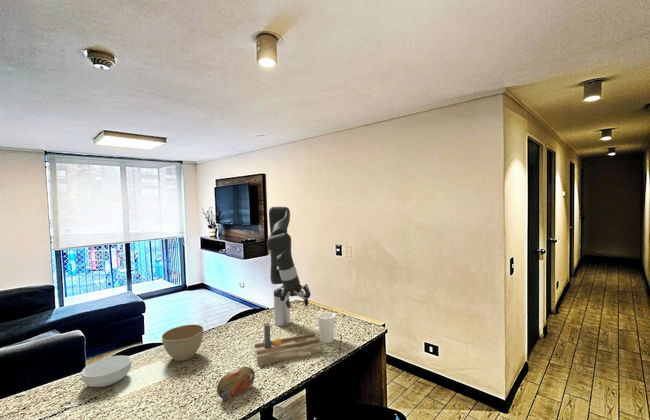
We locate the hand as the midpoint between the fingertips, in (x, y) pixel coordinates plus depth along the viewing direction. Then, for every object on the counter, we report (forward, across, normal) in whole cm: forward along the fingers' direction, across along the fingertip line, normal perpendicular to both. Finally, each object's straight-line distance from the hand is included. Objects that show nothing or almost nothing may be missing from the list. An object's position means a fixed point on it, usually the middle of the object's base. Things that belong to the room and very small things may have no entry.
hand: (298, 306), depth 141 cm
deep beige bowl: (+13, +58, +14) cm, 61 cm away
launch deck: (+22, +10, +4) cm, 25 cm away
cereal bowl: (+4, +76, +36) cm, 84 cm away
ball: (+15, +14, +4) cm, 21 cm away
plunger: (+16, +18, +7) cm, 25 cm away
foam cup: (+29, -5, -11) cm, 32 cm away
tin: (+12, +18, +35) cm, 42 cm away
